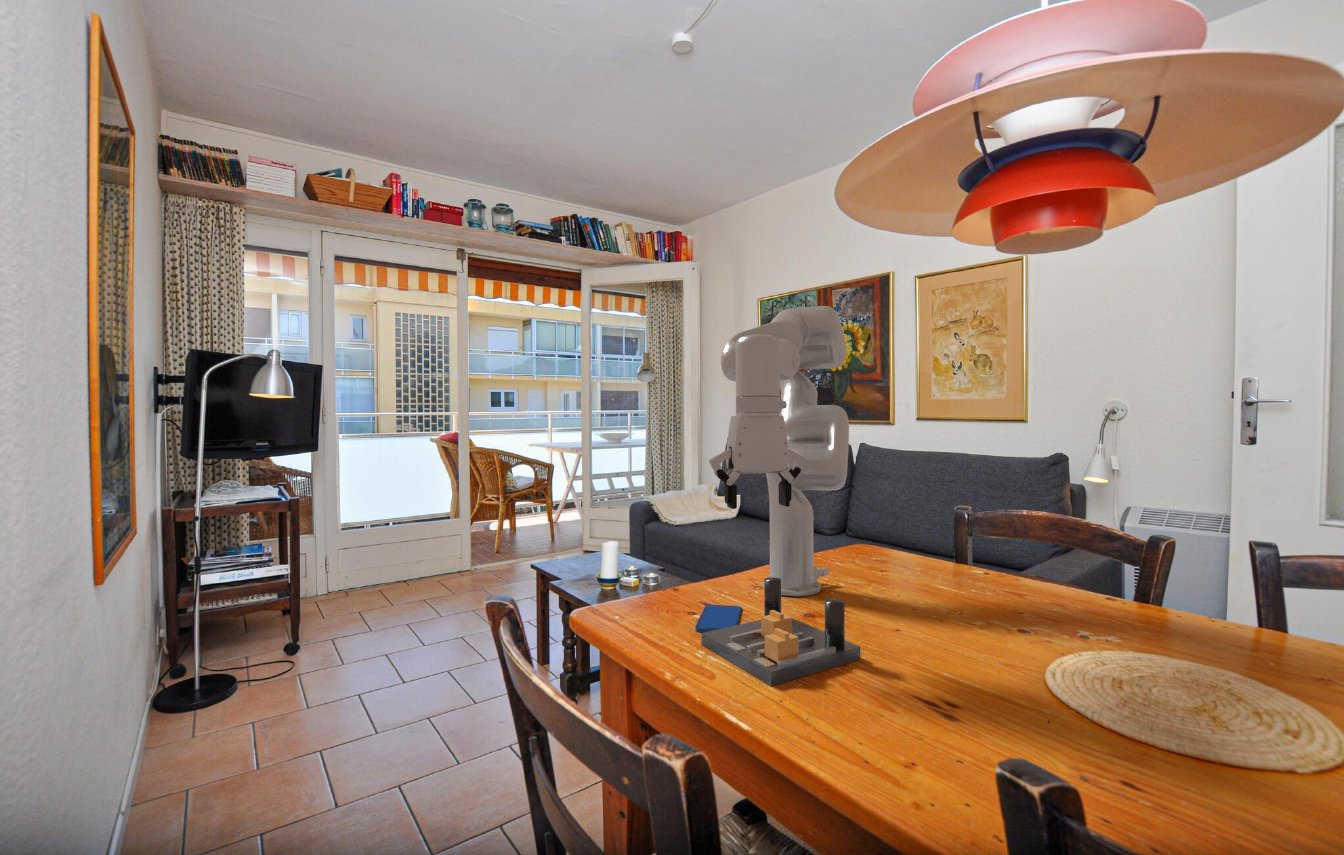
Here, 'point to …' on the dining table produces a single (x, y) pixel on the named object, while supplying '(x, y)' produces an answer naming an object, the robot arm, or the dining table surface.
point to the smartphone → (718, 617)
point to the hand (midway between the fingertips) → (758, 506)
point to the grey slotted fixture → (813, 644)
